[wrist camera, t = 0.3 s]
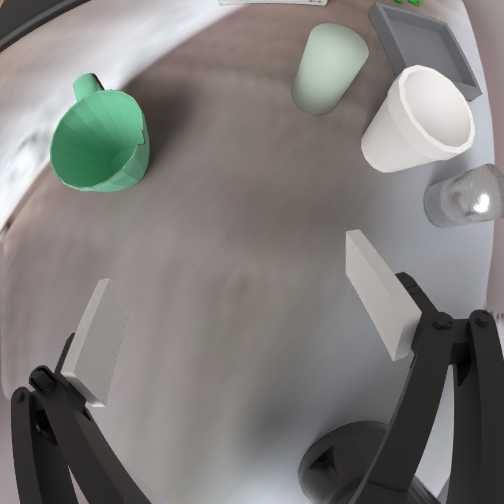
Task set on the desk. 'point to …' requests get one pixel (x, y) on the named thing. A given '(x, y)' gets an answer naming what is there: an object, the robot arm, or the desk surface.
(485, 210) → the steel canister
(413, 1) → the green leafy sprig
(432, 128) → the foam cup
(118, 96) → the mug
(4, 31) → the dark grey book
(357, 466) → the robot arm
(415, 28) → the tray
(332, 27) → the sage canister
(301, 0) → the supplement box
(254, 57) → the desk surface
